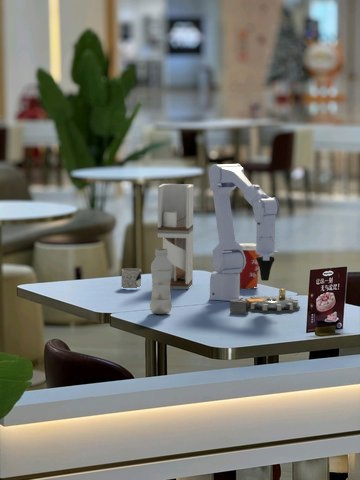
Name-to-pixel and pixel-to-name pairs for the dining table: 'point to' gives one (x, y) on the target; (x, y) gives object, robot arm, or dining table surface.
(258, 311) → the sprocket mat
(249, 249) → the coffee cup
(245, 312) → the link block
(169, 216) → the display case
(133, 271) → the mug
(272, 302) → the sprocket
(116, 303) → the dining table surface
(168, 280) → the plastic bottle
